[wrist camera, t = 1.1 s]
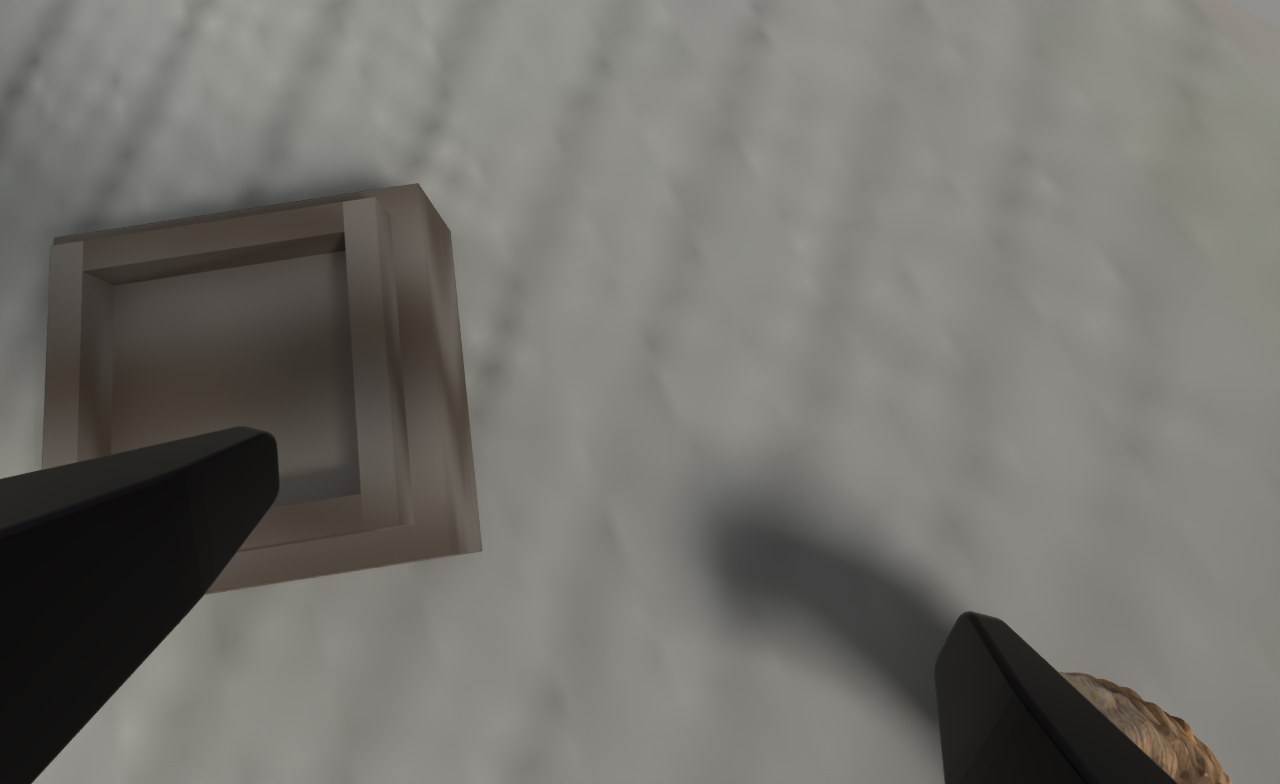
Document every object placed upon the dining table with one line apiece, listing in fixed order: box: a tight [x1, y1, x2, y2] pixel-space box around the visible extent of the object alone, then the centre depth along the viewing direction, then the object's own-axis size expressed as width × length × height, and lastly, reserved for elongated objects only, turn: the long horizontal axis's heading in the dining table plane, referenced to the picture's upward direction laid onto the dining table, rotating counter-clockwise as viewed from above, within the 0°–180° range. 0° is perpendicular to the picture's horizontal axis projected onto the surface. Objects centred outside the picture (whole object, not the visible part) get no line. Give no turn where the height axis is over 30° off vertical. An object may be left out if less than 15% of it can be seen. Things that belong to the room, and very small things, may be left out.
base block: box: [42, 183, 482, 595], centre depth 22 cm, size 12×12×5 cm
